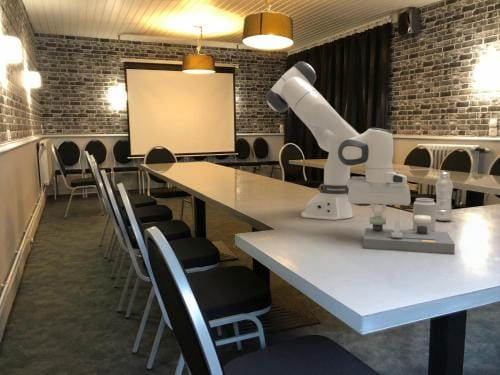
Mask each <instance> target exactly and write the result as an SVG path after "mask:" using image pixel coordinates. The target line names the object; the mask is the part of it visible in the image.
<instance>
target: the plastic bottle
mask: <svg viewBox="0 0 500 375" xmlns="http://www.w3.org/2000/svg"><path fill="white" fill-rule="evenodd" d="M450 178H451V172H449V171H440V172H439V178H438V180H436V182H435V185H434V187H435V194H436V196H435V197H436V202H435V203H436V213H435V221H437V220H438V221H441V222H449V221H451V220H452V219H453V211H452V196H453V191H454V184H453V182H452V180H451V179H450Z"/></svg>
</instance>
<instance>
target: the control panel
mask: <svg viewBox="0 0 500 375" xmlns="http://www.w3.org/2000/svg"><path fill="white" fill-rule="evenodd" d="M383 226H384V225H374V224H372V227H365V230H364V234H363V240H362V241H363V242H362V243H363V244H362V245H363V246H362V247H363V249H371V250H372V249H373V250H388V251H403V252H418V253H432V254H433V253H434V254H450V255H455V246H456V244H455V243H454V240H453V239H452V237H451V236H450V234H449V233H448V231H435V230H434V231H427V227H426V226H417V231H415V230H414V229H412V230H410V229H400V233H402V235H403V238H397V237H392V232H395V228H394V229H393V228H391V229H390V228H383Z"/></svg>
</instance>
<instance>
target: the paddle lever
mask: <svg viewBox="0 0 500 375" xmlns="http://www.w3.org/2000/svg"><path fill="white" fill-rule="evenodd" d="M400 227H401V219H400V218H394V229H395V232H392V237H397V238H403V235H402V233H400V230H401V228H400Z"/></svg>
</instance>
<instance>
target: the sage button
mask: <svg viewBox="0 0 500 375" xmlns="http://www.w3.org/2000/svg"><path fill="white" fill-rule="evenodd" d="M386 222H387V218H386V217H383V218H382V217H374V216H371V217H369V224H371V225H373V224H374V225H383V226H384V225H386V224H387V223H386Z"/></svg>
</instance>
